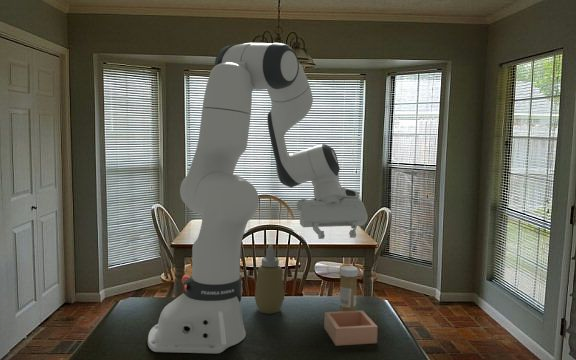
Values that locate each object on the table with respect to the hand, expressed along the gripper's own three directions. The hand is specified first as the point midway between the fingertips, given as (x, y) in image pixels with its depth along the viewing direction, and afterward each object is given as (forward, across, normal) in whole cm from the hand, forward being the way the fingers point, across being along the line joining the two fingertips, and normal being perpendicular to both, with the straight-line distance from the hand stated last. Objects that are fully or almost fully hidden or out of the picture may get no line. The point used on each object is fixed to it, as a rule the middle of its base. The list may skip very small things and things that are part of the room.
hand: (337, 237), depth 134 cm
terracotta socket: (+30, -3, -3) cm, 30 cm away
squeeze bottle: (+17, -21, +9) cm, 28 cm away
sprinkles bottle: (+22, 0, +5) cm, 22 cm away
